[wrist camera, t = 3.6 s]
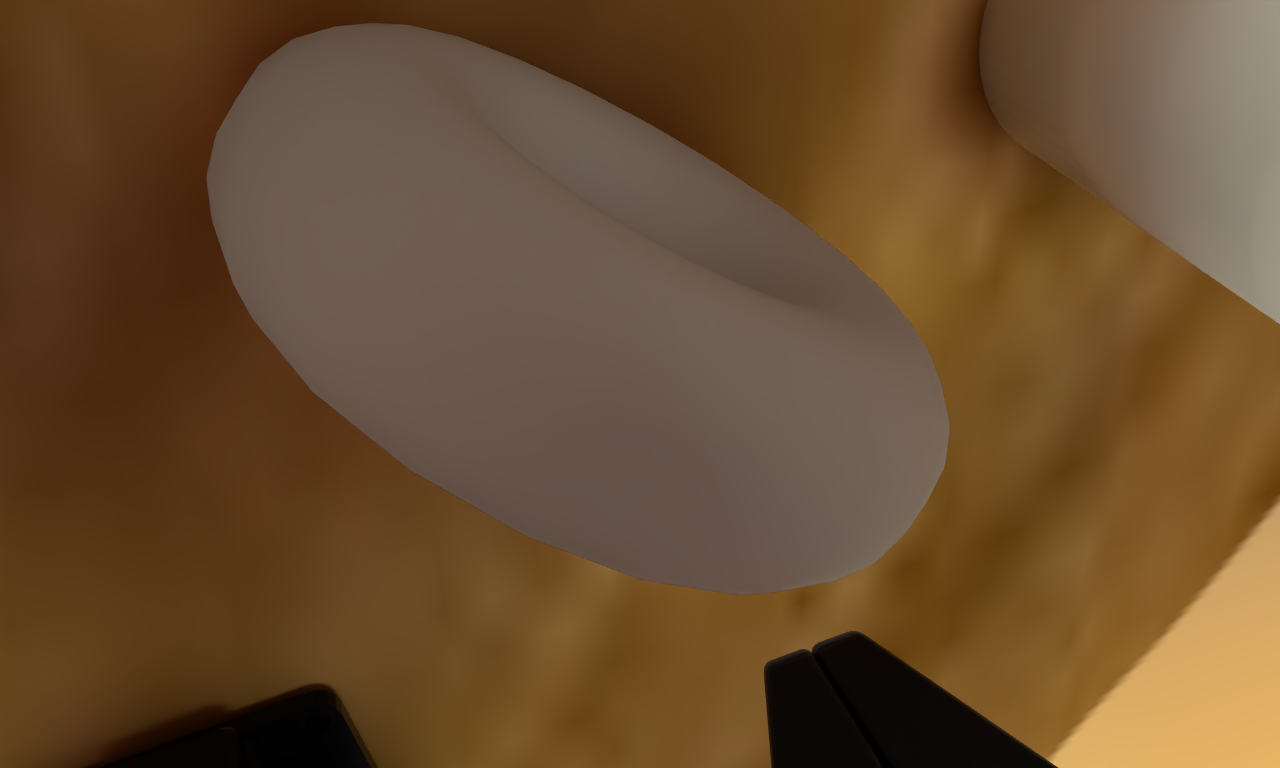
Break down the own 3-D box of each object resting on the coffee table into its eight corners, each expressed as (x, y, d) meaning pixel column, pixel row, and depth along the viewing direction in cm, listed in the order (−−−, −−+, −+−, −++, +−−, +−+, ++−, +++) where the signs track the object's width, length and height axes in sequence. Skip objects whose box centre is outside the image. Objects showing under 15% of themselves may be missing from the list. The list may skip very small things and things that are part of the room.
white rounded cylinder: (1244, 111, 23) (1566, 273, 18) (984, 198, 23) (1231, 395, 17) (1276, -196, 20) (1683, -116, 14) (973, -104, 19) (1275, 17, 14)
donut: (810, 175, 21) (1161, 521, 13) (711, 332, 23) (977, 736, 15) (265, -104, 17) (300, 173, 9) (176, 114, 18) (132, 537, 10)
